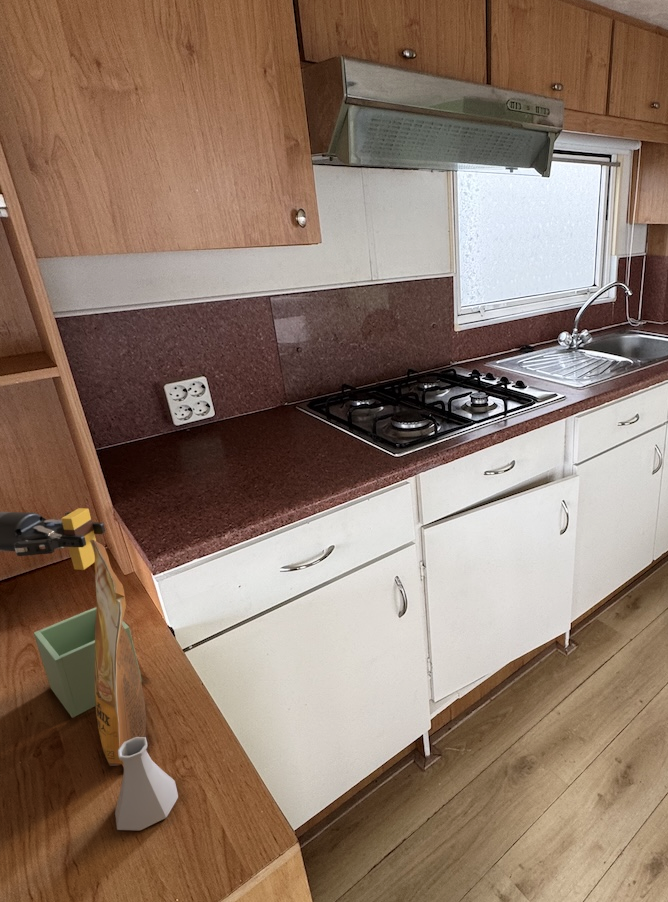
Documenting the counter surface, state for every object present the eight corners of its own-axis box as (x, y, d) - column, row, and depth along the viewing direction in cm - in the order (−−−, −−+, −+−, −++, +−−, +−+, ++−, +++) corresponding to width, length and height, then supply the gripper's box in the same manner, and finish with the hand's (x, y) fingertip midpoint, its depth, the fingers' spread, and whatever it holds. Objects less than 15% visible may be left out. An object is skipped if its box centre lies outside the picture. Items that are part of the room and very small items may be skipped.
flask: (183, 775, 79) (171, 718, 76) (173, 823, 72) (158, 763, 69) (123, 789, 77) (107, 731, 73) (106, 840, 70) (88, 779, 67)
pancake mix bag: (150, 680, 95) (115, 529, 86) (163, 763, 81) (123, 592, 71) (101, 697, 92) (60, 541, 82) (105, 787, 77) (55, 610, 68)
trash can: (72, 718, 88) (55, 660, 84) (50, 687, 94) (33, 632, 90) (142, 681, 95) (129, 627, 92) (118, 655, 101) (105, 603, 97)
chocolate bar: (73, 569, 112) (60, 518, 108) (90, 557, 116) (78, 507, 112) (84, 570, 112) (71, 519, 108) (100, 557, 116) (89, 508, 112)
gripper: (43, 531, 120) (122, 534, 120) (-19, 567, 107) (70, 571, 106) (34, 498, 118) (115, 501, 117) (-31, 531, 104) (60, 535, 104)
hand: (93, 534), depth 112 cm, fingers closed on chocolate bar, 4 cm apart
